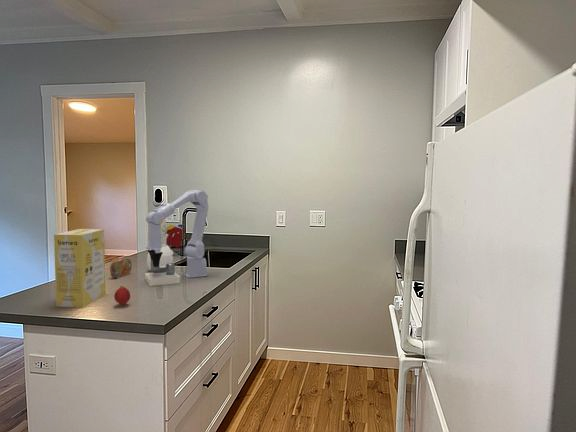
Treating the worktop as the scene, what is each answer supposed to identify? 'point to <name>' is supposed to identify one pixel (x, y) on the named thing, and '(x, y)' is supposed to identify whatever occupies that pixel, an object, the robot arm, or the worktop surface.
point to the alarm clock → (174, 235)
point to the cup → (162, 256)
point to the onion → (122, 295)
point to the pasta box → (79, 267)
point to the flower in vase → (164, 236)
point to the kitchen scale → (161, 277)
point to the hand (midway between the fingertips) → (155, 265)
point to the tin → (120, 268)
